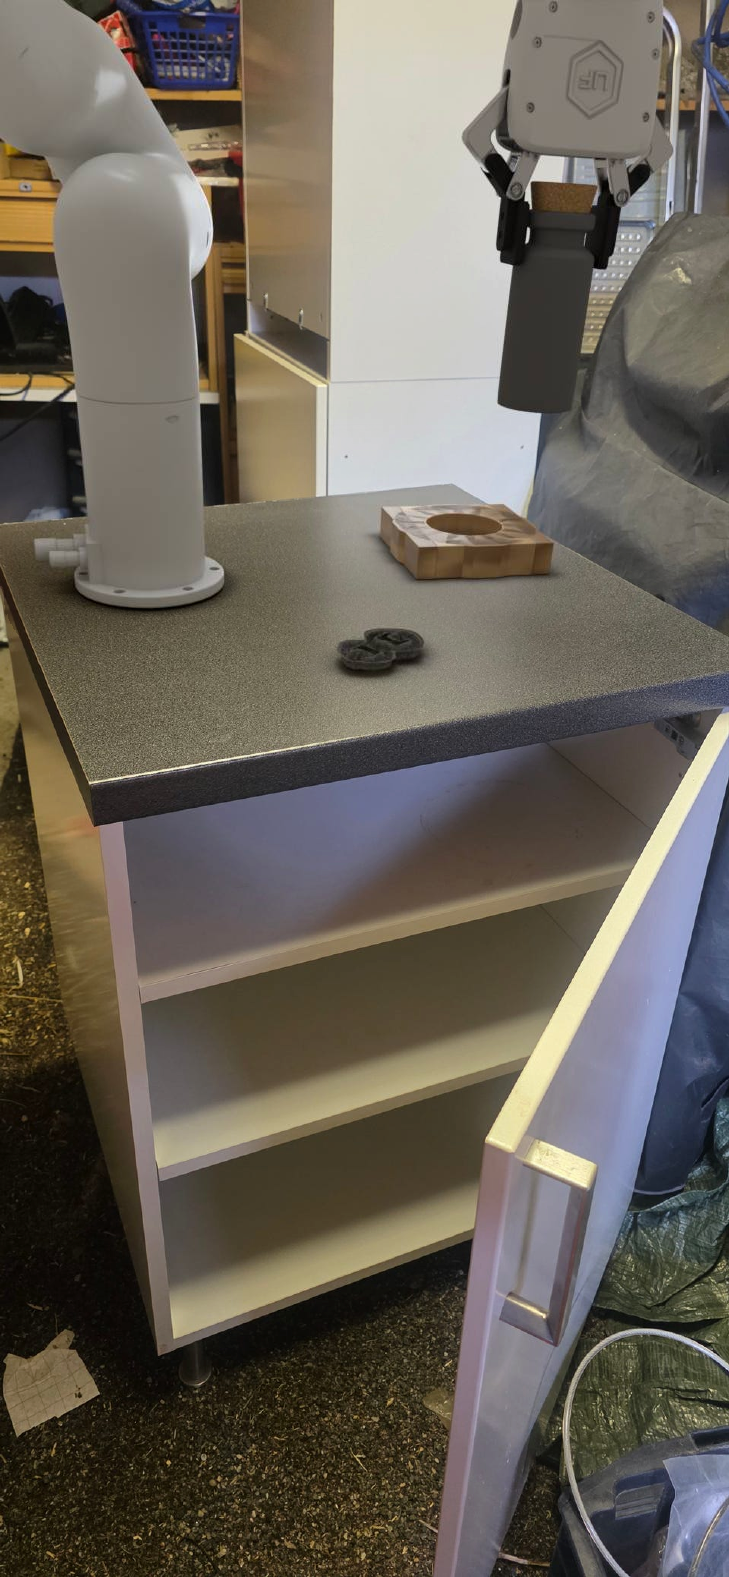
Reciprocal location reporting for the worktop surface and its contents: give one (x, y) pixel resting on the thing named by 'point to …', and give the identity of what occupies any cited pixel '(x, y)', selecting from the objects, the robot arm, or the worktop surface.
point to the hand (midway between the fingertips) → (553, 263)
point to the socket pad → (464, 541)
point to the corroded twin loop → (380, 648)
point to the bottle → (548, 301)
